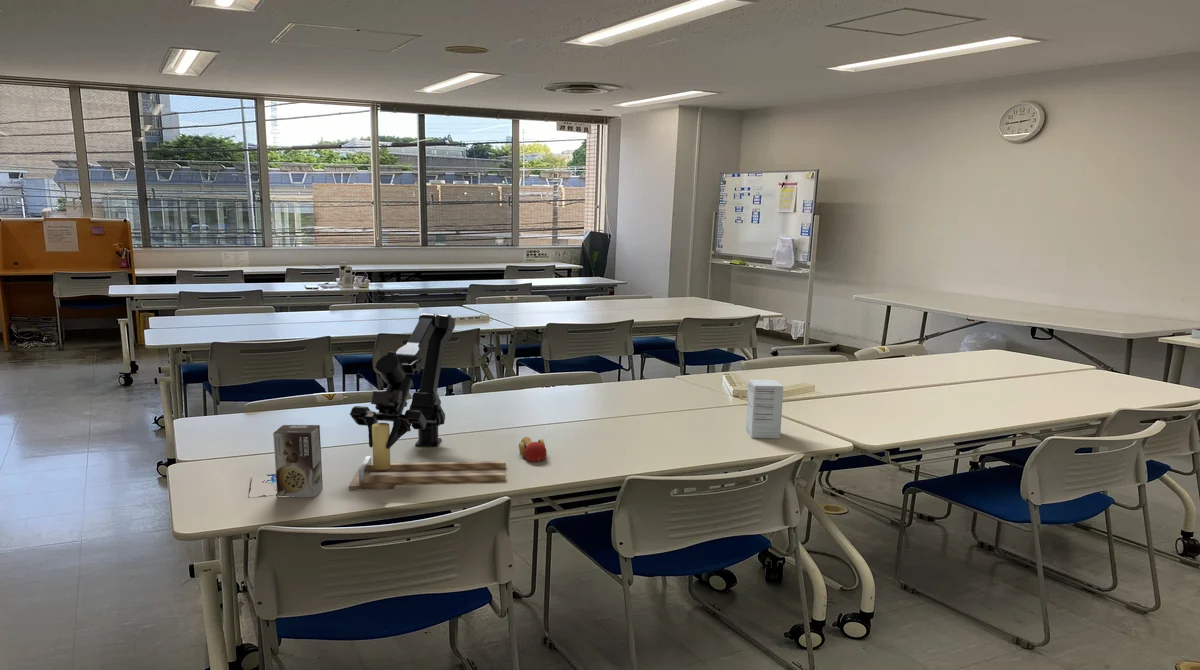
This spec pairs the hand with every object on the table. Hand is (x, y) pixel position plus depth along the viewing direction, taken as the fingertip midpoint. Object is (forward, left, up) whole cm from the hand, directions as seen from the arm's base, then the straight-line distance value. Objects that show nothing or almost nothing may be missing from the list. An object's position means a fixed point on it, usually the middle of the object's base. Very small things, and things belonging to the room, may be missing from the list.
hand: (378, 447), depth 188 cm
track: (-3, +12, -9) cm, 16 cm away
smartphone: (+4, -27, -10) cm, 29 cm away
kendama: (-23, +36, -9) cm, 44 cm away
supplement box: (-49, +107, -9) cm, 118 cm away
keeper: (-1, 0, -6) cm, 6 cm away
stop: (-1, -4, -9) cm, 10 cm away
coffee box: (+8, -17, -9) cm, 21 cm away
